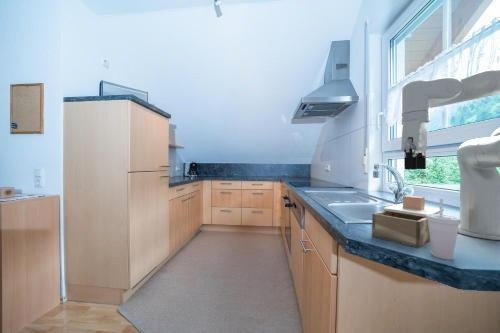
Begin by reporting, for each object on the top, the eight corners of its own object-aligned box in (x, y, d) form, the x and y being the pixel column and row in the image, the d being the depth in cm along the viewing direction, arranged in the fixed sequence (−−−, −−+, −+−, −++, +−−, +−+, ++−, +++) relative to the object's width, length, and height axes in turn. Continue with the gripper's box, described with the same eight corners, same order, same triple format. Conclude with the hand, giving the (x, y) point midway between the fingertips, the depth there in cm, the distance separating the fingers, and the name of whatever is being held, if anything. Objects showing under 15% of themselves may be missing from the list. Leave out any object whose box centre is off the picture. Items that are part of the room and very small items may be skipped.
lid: (400, 205, 82) (401, 193, 82) (443, 211, 73) (443, 197, 73) (383, 210, 72) (383, 196, 72) (429, 217, 63) (430, 201, 63)
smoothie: (445, 251, 55) (446, 197, 55) (468, 262, 49) (469, 201, 49) (419, 250, 56) (419, 196, 56) (438, 261, 49) (439, 200, 49)
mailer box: (391, 227, 77) (392, 208, 77) (435, 236, 67) (435, 214, 67) (372, 236, 67) (372, 213, 67) (419, 248, 57) (419, 222, 57)
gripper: (410, 123, 81) (410, 169, 81) (392, 117, 70) (393, 169, 70) (436, 120, 75) (436, 169, 75) (421, 112, 64) (421, 169, 64)
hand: (415, 169), depth 72 cm, fingers open, 9 cm apart
